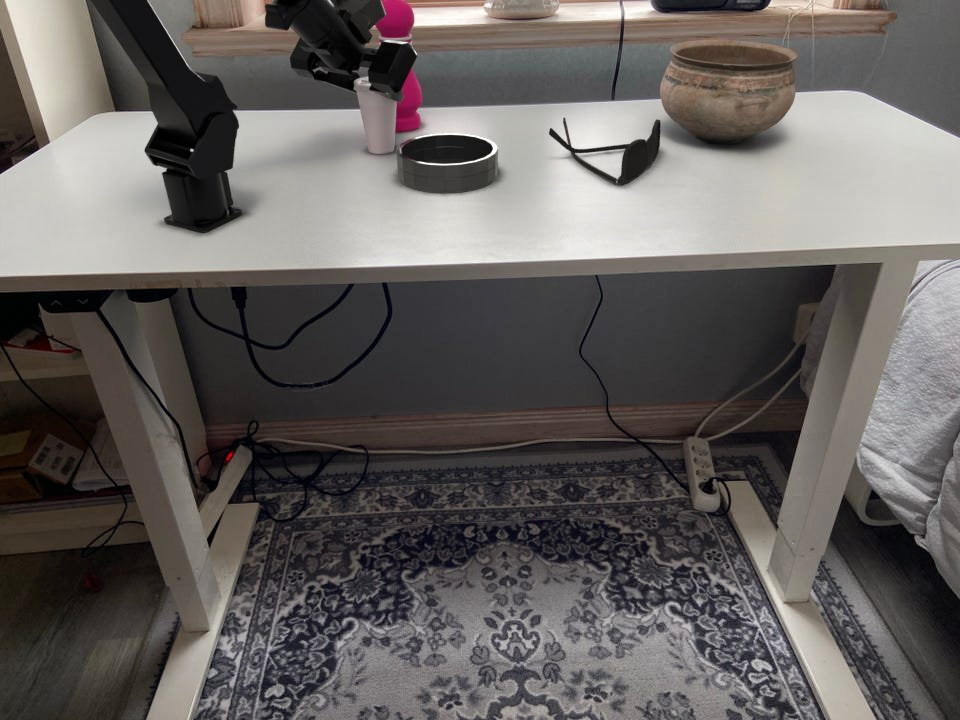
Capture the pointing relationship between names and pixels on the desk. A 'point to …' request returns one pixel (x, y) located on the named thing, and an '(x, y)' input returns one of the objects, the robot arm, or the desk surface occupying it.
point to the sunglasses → (634, 155)
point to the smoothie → (376, 117)
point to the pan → (447, 163)
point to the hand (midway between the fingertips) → (384, 96)
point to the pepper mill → (398, 29)
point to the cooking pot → (728, 88)
